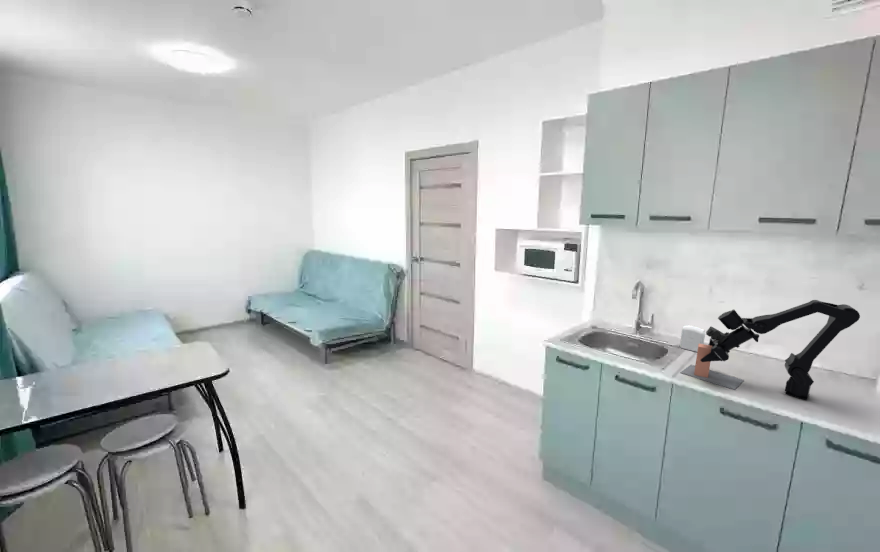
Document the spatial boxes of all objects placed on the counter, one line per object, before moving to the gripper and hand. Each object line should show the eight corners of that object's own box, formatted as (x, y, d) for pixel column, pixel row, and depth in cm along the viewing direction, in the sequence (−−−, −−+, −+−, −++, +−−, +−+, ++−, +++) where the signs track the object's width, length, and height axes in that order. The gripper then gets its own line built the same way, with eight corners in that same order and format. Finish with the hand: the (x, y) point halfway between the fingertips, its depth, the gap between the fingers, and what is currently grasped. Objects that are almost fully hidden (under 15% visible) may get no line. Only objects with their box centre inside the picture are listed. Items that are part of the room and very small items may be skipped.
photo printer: (678, 347, 204) (681, 324, 202) (681, 345, 207) (684, 323, 205) (700, 353, 197) (704, 330, 194) (703, 351, 199) (707, 328, 197)
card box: (707, 374, 173) (712, 345, 171) (708, 377, 170) (712, 349, 167) (694, 371, 176) (698, 343, 173) (694, 374, 172) (698, 346, 170)
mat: (743, 380, 168) (743, 379, 168) (734, 390, 160) (734, 389, 160) (690, 365, 183) (691, 364, 183) (680, 373, 175) (680, 372, 175)
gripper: (720, 316, 173) (687, 336, 181) (723, 328, 158) (686, 349, 166) (739, 337, 171) (705, 355, 179) (744, 351, 155) (706, 371, 163)
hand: (700, 357), depth 172 cm, fingers open, 9 cm apart
